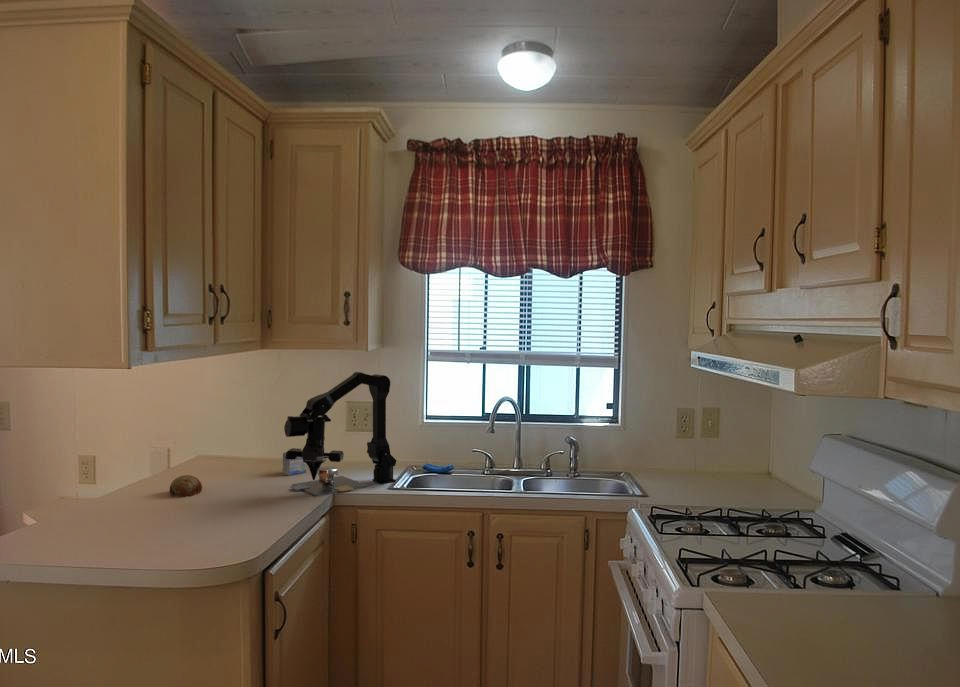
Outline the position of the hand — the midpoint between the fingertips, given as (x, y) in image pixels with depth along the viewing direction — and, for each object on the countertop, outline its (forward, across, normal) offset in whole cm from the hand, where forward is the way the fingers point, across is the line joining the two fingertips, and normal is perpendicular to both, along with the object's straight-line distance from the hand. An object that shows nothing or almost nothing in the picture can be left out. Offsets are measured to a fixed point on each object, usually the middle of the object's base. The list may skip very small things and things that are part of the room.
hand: (313, 479), depth 212 cm
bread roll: (+6, -43, -2) cm, 43 cm away
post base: (+4, +3, +7) cm, 9 cm away
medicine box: (+5, -15, +27) cm, 31 cm away
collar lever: (+1, +3, +7) cm, 7 cm away
